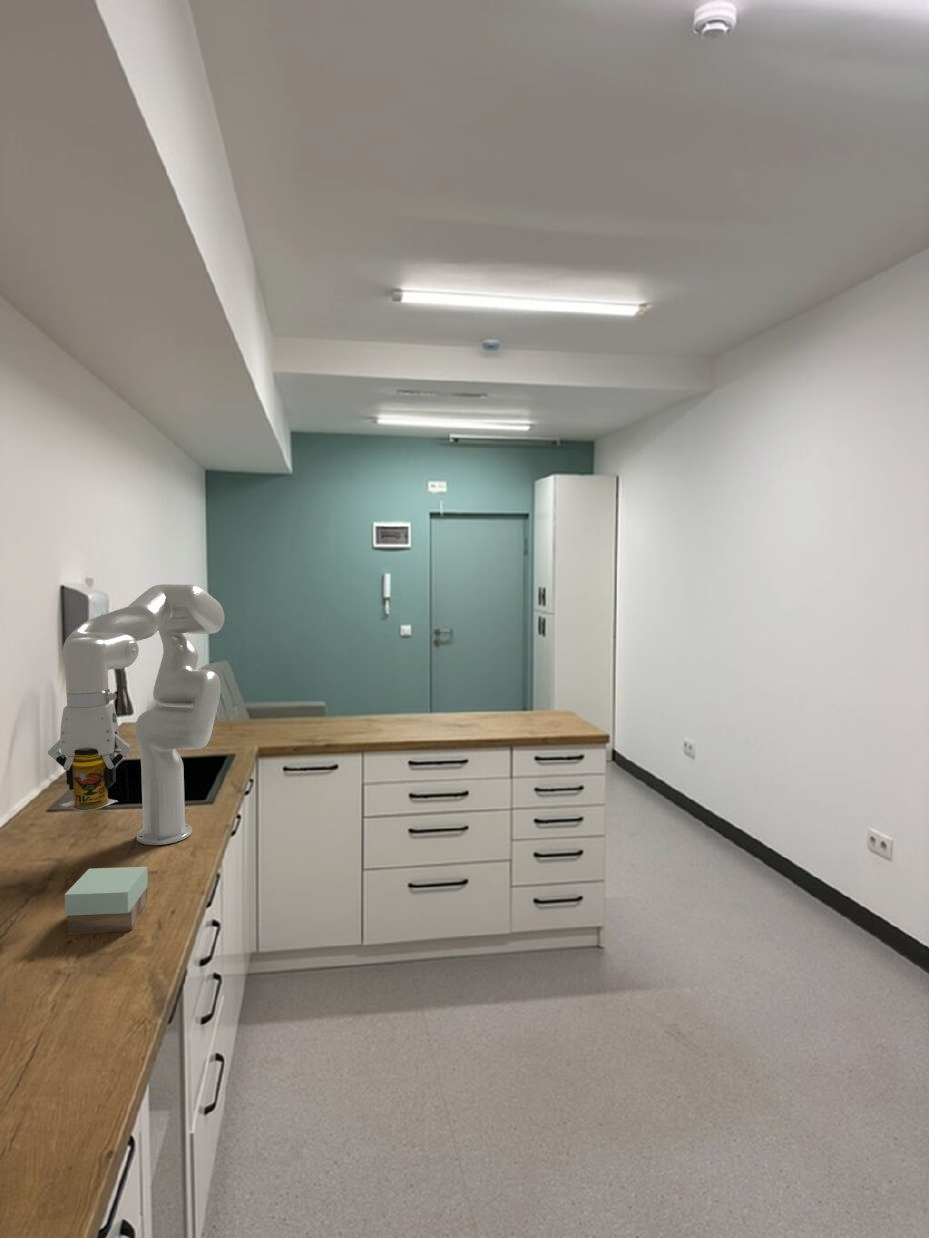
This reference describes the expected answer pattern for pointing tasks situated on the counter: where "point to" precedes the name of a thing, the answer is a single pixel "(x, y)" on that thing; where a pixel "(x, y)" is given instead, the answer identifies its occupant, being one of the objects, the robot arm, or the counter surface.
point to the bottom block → (107, 920)
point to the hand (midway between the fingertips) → (91, 786)
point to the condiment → (89, 782)
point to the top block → (106, 891)
